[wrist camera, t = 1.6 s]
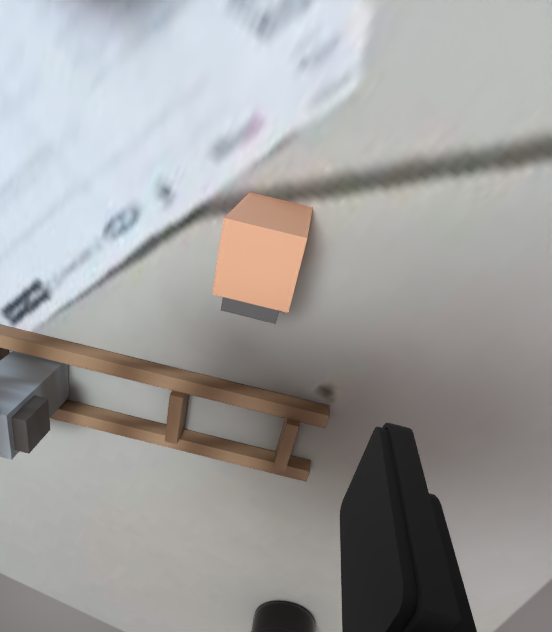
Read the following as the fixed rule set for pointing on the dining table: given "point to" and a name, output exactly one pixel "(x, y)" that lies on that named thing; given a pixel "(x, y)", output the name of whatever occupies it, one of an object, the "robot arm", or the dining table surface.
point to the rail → (51, 402)
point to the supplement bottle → (282, 618)
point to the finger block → (261, 256)
